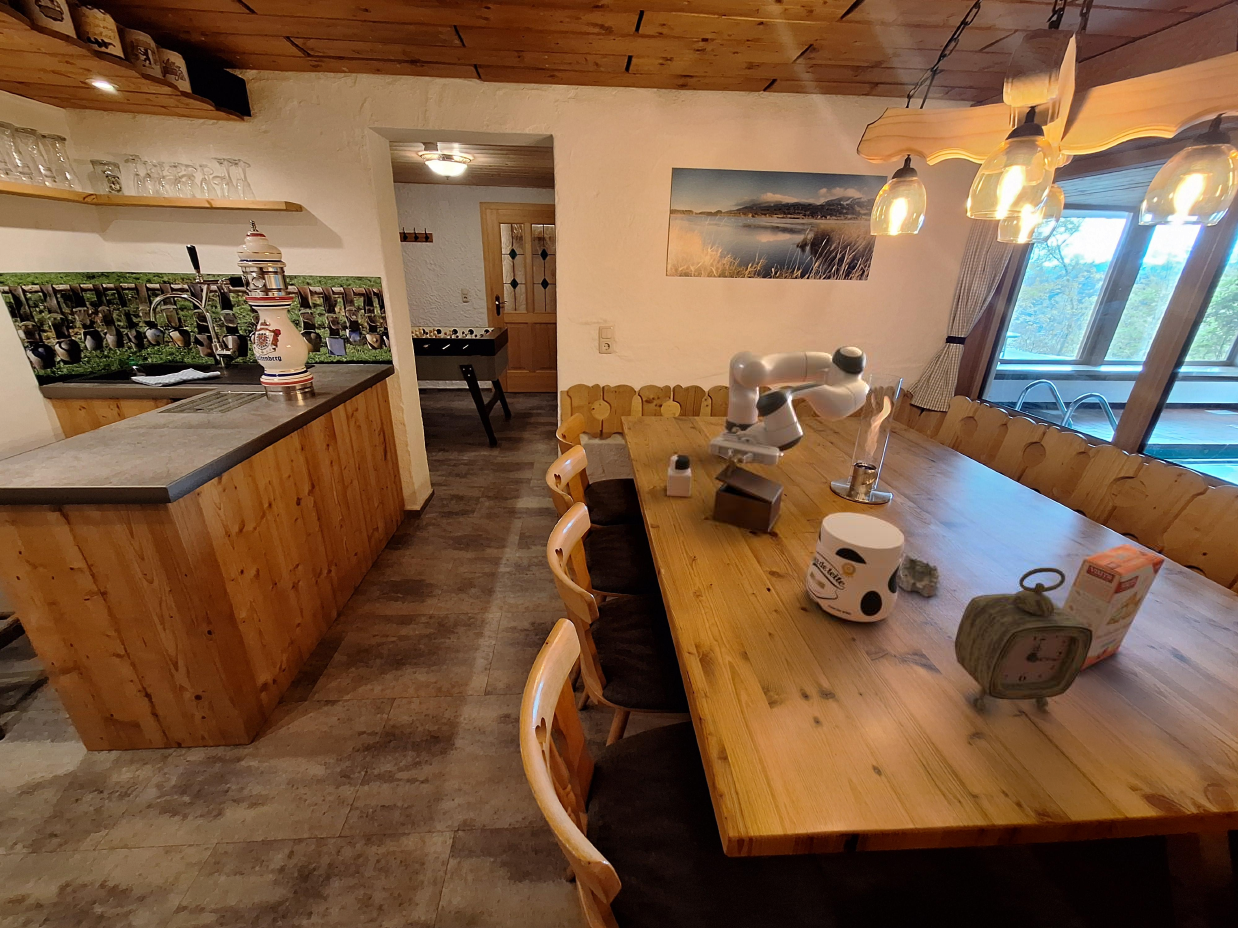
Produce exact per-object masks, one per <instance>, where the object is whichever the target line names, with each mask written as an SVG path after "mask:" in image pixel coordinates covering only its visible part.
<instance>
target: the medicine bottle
mask: <svg viewBox="0 0 1238 928" xmlns="http://www.w3.org/2000/svg"><path fill="white" fill-rule="evenodd" d="M669 464H670V465H669V466H668V468H667V481H666V495H667V496H670V497H684V498H685V497H686V498H687V497H691V487H692V485H691V484H692V469H691V467H690V465H691V458H690V457H688V456H687V455H684V454H675V455H672V456H671V457H670V463H669Z"/></svg>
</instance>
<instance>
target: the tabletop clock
mask: <svg viewBox="0 0 1238 928" xmlns="http://www.w3.org/2000/svg"><path fill="white" fill-rule="evenodd" d="M1040 573H1053V574H1054V573H1055V574H1057V575H1058V576H1060V580H1059V582H1057V583H1055V584H1052V585H1050V586H1045V584H1044V583H1041V582H1037V583H1035V585H1034V587H1030V586H1026V585H1025V584H1024V582H1025V580H1026V579H1027V578H1029V577H1030V576H1033V575H1036V574H1040ZM1065 581H1066V574H1065V573H1064V572H1063V571H1062V570H1061V569H1058V568H1055V567H1038V568H1033V569H1031V570H1029V571H1027V572H1025V573H1024V574H1023V575H1022V576H1021V577H1020V579H1019V582H1018V583H1019V584H1018V585H1019V587H1020V588H1021V589H1022V590H1018V591H1017V592H1015V593H994V594H992V593H991V594H981V595H977V596H975V597H972V598H971V599H970V601H969V602H968V604H967V606H965V609H964V611H963V614H962V616H961V619H960V621H959V624H958V628H957V632H956V635H955V639H954V651H955V657H956V662H957V663H958V664H959V665H960V666H961V667H962V668H963V669H964V670H965V671H966V673H968V675H969V676H970V677H971V678H972V679H973V680H974V681H975V682H976V683H977V684H978V686H980V688H981V689H980V693H979V697H975V698H974V699H973V701H972V702H973V706H974V707H975V708H976V709H978V710H983V709H985V708H986V701H985V700H984V699H985V697H986V696H987V695H988V696H989V697H991V698H994V699H999V700H1020V701H1027V700H1035V703H1036V705H1038V707H1041V708H1046V707H1048V706H1049V701H1048V699H1047V698H1054V697H1057V696H1060V695H1064V694H1065V693H1066V692H1067V690H1069V689H1070V687H1072V685H1073V684H1074V682H1075V681H1076V678H1078V676H1079V673H1080V672H1081V671H1082V670H1081V668H1082V666H1083V665H1084V663H1085V660H1086V657H1087V655H1088V652H1089V649H1090V646H1091V642H1092V630H1091V629H1090V628H1088V627H1087V626H1085V625H1084V624H1083V623H1081V622H1080V621H1078V620H1077V619H1076V618H1074V617H1073V616H1071V615H1070V614H1068V613H1067V612H1066V611H1064V610H1063V609H1062V607H1060V606H1059V605H1058V604H1056V603H1055V602H1053V600H1052V599H1051V598H1050V596H1048V595H1047V594H1046V593H1047V592H1051V591H1054V590H1058V588H1060V587H1061V586H1062V585H1063V584H1065Z"/></svg>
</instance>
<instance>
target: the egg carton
mask: <svg viewBox="0 0 1238 928" xmlns="http://www.w3.org/2000/svg"><path fill="white" fill-rule="evenodd" d="M929 563H930V562H928V561H927V562H924V561H923V560H921V559H918V558H913V557H911V556H909V555H907V554H906V555H905V556H904V557H903V561H902V562H901V564H900V568H899V575H900V580H899V583H898V584H899V587H901V588H902V589H904V591H907V592H911V591H914V592H918V593H919V594H921V596H923V597H929V596H934V595H935V592H936V591H937V584H938V582H939V578H940V573H939V571H938V567H937V565H931V564H929Z"/></svg>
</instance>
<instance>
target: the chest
mask: <svg viewBox="0 0 1238 928" xmlns="http://www.w3.org/2000/svg"><path fill="white" fill-rule="evenodd" d="M783 489H784V487H783V488H782V489H781V491H780V492H779V494H778V495H777V497H776V498H775V500H774V501H773V503H772V504H770V503H768V502H766V501H763V500H761V499H759V498H757V497H754V496H752V495H750V494H748V493H745V492H743V491H741V490H739V489H736V488H734V487H732V486H730V485H727V484H725V483H722V484H721V485H720V486H719V488H718V489H716V491H715V495H714V506H713V515H712V520H713V521H717V522H721V523H726V524H728V525H732V526H737V527H740V528H745V529H748V530H751V531H756V532H760V533H764V534H769V532H770V531H771V529H772V528H773V526H774V524H775V523H776V521H777V519H778V517H779V515H780V509H781V504H782V503H781V502H782V496H783Z"/></svg>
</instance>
